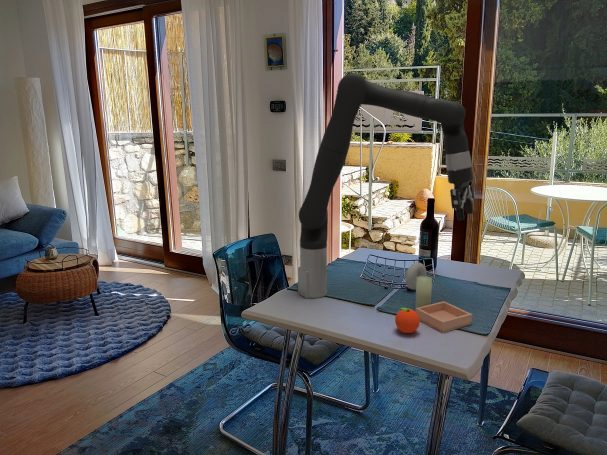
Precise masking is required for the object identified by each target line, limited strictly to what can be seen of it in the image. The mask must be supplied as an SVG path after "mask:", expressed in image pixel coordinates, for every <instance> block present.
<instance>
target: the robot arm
mask: <svg viewBox="0 0 607 455" xmlns="http://www.w3.org/2000/svg"><path fill="white" fill-rule="evenodd" d="M334 101H335V102H334V105H333V110H332V113H331V116H330V119H329V121H328V124H327V126H326V128H325V131H324V134H323V136H322V139H321V142H320V144H319V148H318V150H317V154H316V158H315V162H314V165H313V171H312V176H311V180H310V185H309V188H308V190H307V192H306V196H305V197H304V200H303V202H302V204H301V206H300V208H299V211H298V220H299V222H300V225H301V226H300V236H299V266H298V267H297V293H298V294H299V295H301V296H302V297H304V298H305V299H318V298H324V297H325V296H326V295H327V291H328V290H327V289H328V287H327V284H328V283H327V282H328V281H327V280H328V277H327V274H328V270H327V269H328V268H327V267H328V266H327V265H328V262H327V261H328V258H327V257H328V253H327V252H328V227H329V225H328V224H329V215H328V214H329V211H328V206H329V202H330V197H331V195H332V192H333V189H334V187H335V185H336V183H337V181H338V179H339V177H340V174H341V172H342V170H343V169H344V168H343V167H344V165H345V162H346V160H347V157H348V154H349V153H348V152H349V149H350V146H351V141H352V134H353V127H354V122H355V120H356V117H357V115H358V112H359V110H360V108H361V105H363V106H374V107H379V108H383V109H387V110H391V111H393V112H397V113H400V114H403V115H406V116H410V117H413V118H418V119H421V120H422V119H423V120H430V121H434V122H436V123H440V127H441V131H442V135H443V144H444V145H443V146H444V152H445V166H446V167H445V168H446V175H447V182H448V183H449V184H450V185H452V184H453V186H454V187H453V188H451V189H450V190H449V192H450V202H451V208H452V209H454V210H455V215H456V221H459V222H460V221H464V220H465V214H467V215H470V214H473V213H474V208H473V201H474V200H473V199H475V193H474V184H473V179H474V173H473V167H472V158H471V154H470V149H469V141H468V137H467V134H466V132H465V131H466V130H465V124H464V120H465V118H466V114H467V113H466V109H465V107H464V106H463V104H461V103H459V102H458V101H454V100H452V101H451V100H447V99H442V98H435V97H432V96H429V95H426V94H422V93H419V92H415V91H409V90H405V89H404V90H403V89H396V88H390V87H386V86H381V85H379V84H376V83H374V82H371V81H369V80H367V79H365V78H364V76H363V75H360V74H359V73H357V72H351V73H347V74H345V75H344V76H343V77H342V78H341V79H340V81H339V82H338V85H337V90H336V95H335V100H334ZM464 208H465V211H464ZM464 212H465V213H464Z"/></svg>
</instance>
